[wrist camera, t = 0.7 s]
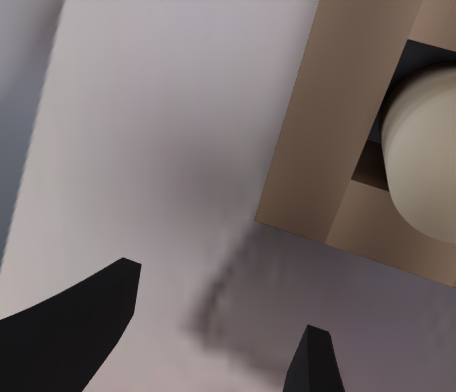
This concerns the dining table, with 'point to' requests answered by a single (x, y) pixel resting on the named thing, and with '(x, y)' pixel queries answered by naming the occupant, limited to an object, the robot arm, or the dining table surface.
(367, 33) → the walnut block
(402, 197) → the peg
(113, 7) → the dining table surface
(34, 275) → the dining table surface
